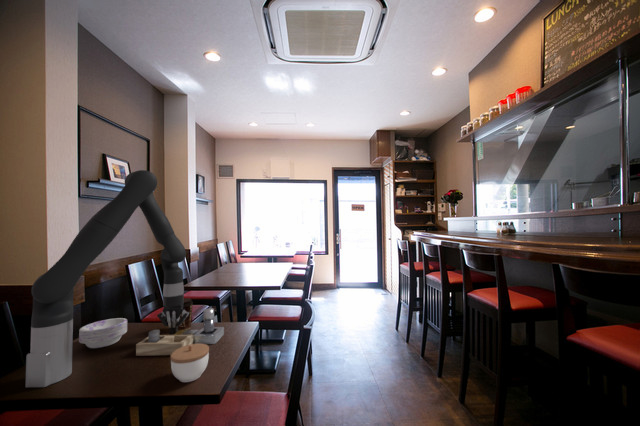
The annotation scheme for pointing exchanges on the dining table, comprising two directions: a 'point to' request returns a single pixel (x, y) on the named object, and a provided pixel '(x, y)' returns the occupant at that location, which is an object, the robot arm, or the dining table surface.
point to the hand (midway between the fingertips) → (173, 335)
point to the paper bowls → (103, 332)
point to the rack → (162, 343)
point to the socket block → (208, 336)
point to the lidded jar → (189, 362)
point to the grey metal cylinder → (209, 321)
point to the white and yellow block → (186, 332)
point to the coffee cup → (188, 308)
